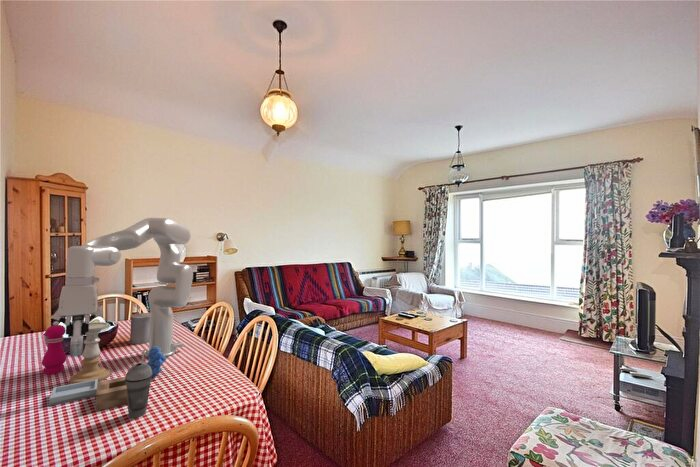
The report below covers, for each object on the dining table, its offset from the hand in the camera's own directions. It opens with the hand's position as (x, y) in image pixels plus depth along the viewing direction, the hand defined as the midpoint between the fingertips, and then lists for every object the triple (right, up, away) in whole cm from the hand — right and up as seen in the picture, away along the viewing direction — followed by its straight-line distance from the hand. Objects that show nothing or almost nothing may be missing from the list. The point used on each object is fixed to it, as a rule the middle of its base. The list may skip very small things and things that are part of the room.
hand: (77, 334), depth 109 cm
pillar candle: (-15, -22, +56) cm, 62 cm away
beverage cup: (+28, -22, -10) cm, 37 cm away
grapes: (+17, -22, +17) cm, 33 cm away
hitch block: (+15, -21, -2) cm, 26 cm away
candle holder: (-6, -21, +13) cm, 26 cm away
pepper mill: (-25, -21, +18) cm, 37 cm away
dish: (-1, -21, 0) cm, 21 cm away
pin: (0, -7, 0) cm, 7 cm away
